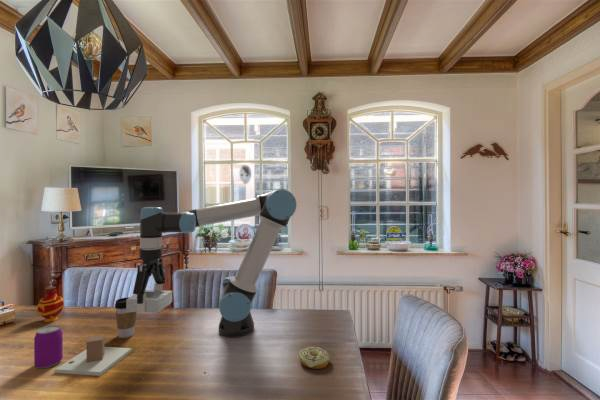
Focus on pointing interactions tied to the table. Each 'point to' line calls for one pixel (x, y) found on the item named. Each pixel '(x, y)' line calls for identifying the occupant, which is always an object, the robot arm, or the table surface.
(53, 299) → the potion bottle
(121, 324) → the coffee cup
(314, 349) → the decorated donut
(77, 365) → the post board
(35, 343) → the beverage can
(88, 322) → the table surface
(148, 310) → the square frame
